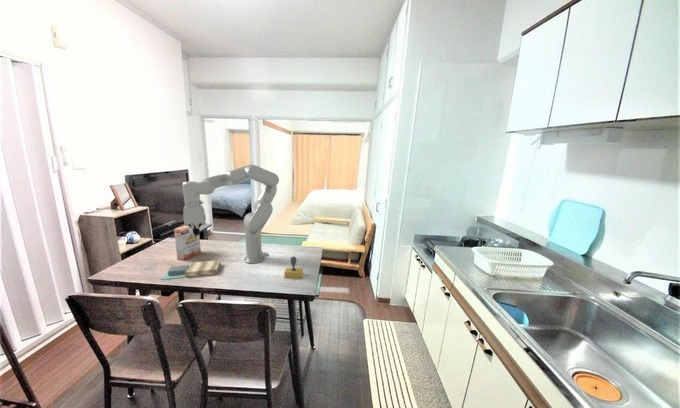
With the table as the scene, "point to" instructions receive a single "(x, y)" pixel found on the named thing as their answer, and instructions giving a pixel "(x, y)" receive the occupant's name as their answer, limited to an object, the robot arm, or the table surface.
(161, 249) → the table surface
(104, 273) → the table surface
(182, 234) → the cracker box
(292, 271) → the rubber stamp
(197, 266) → the deck
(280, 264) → the table surface
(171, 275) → the mat
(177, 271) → the blue-grey flat block
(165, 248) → the table surface
